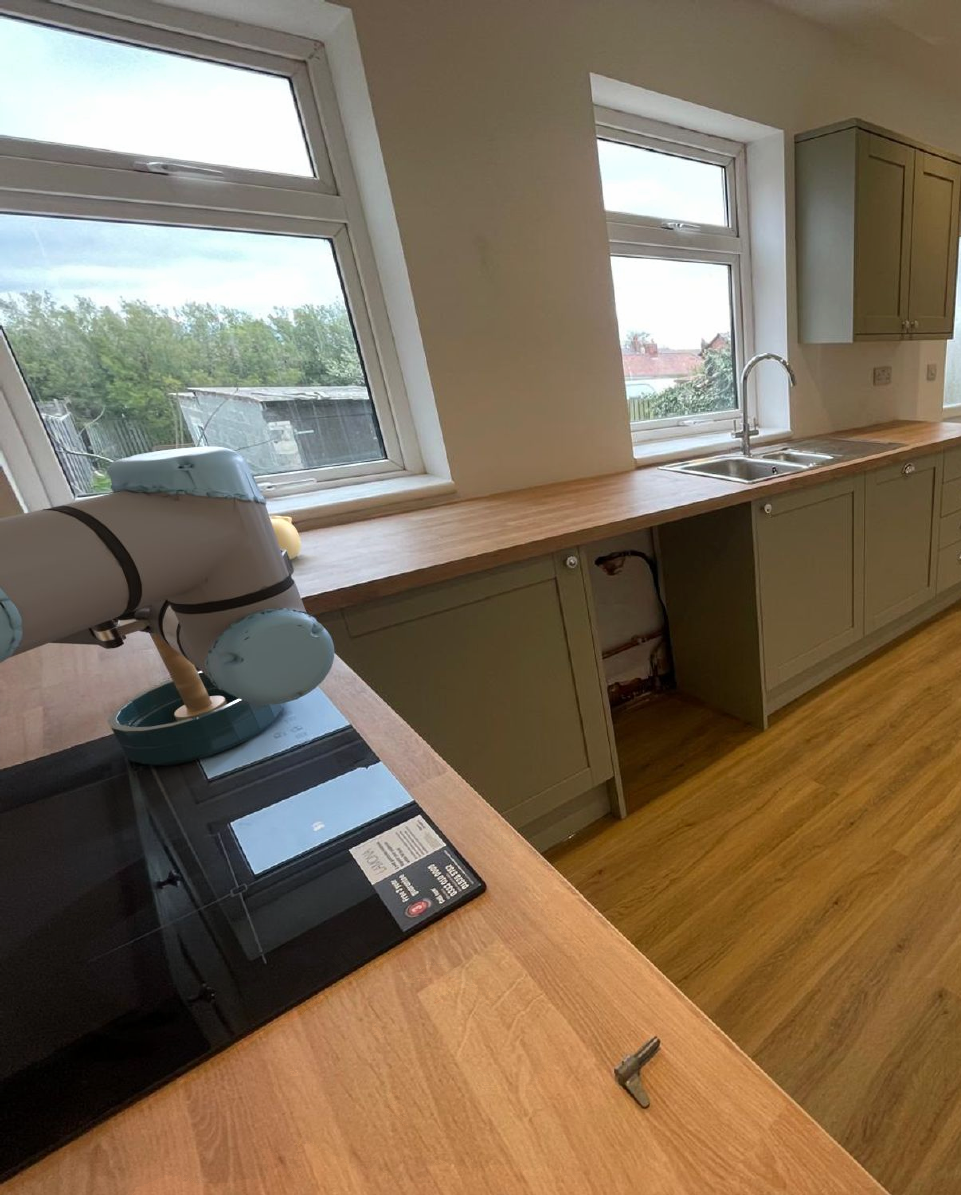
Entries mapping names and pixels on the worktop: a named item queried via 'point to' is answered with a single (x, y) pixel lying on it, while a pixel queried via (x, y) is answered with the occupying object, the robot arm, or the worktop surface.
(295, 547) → the yellow persimmon
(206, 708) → the wooden stirrer
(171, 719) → the bowl
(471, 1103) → the worktop surface
